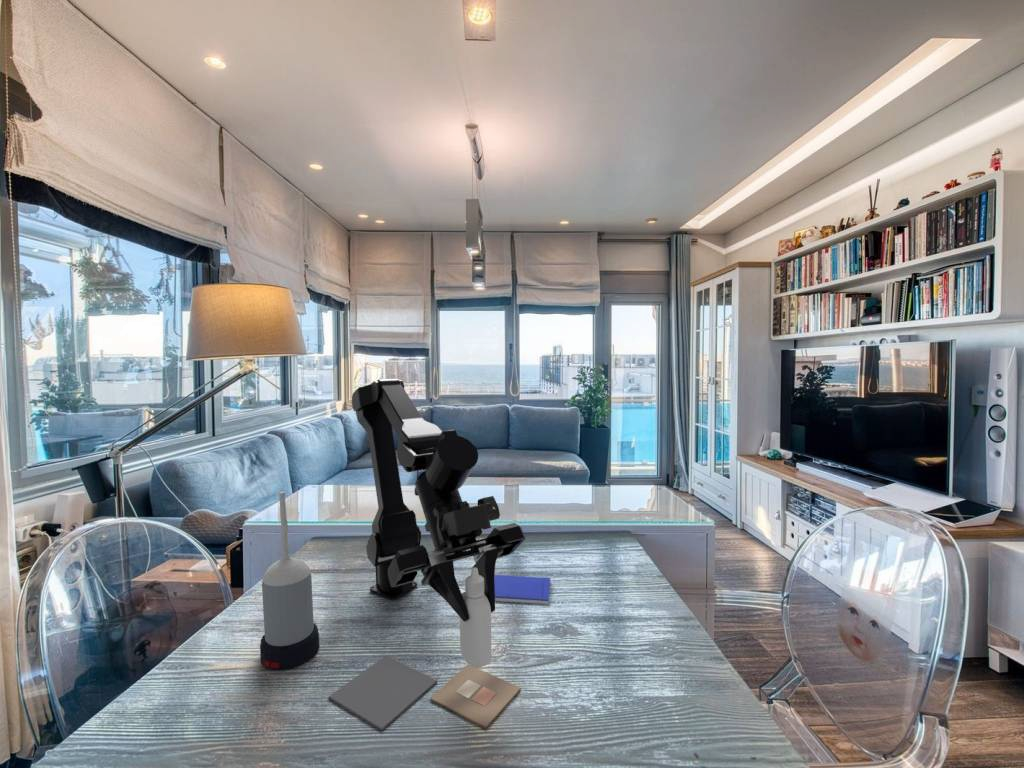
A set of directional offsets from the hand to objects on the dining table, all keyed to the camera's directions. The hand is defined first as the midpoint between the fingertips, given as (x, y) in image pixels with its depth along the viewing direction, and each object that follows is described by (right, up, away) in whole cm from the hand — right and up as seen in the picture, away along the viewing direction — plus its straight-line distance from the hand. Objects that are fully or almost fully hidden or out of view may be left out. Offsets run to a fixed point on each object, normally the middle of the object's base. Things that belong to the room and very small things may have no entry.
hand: (480, 615), depth 64 cm
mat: (-13, -12, +3) cm, 18 cm away
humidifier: (-29, -11, +11) cm, 33 cm away
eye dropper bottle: (-1, -6, +2) cm, 7 cm away
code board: (-1, -12, +2) cm, 12 cm away
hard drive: (+5, -10, +29) cm, 31 cm away
